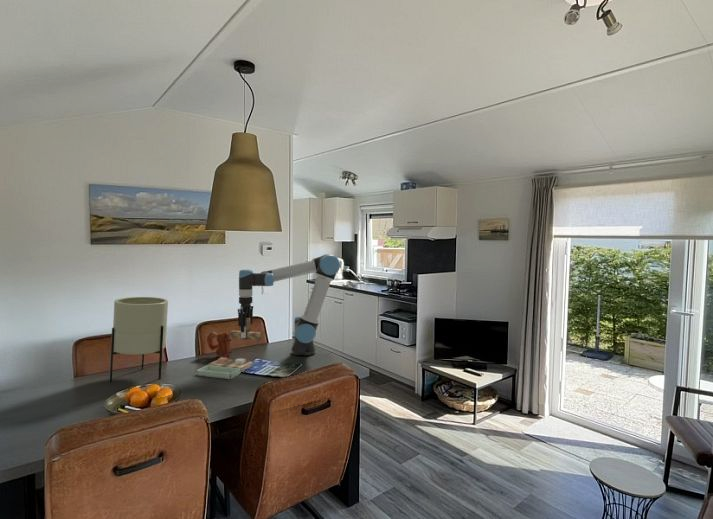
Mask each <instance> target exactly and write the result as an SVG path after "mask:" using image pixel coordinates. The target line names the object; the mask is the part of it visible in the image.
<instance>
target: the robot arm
mask: <svg viewBox="0 0 713 519" xmlns="http://www.w3.org/2000/svg"><path fill="white" fill-rule="evenodd" d="M340 268H341V263H340V260H339V258H338V257H337V256H336V255H334V254H329V253H328V254H323V255H321V256H317V257H315V258H312V259H311V260H309V261H304V262H300V263H295V264H290V265H287V266H282V267H277V268H274V269H271V270H264V271H261V272H257V273H256V272H254V271H253V270H252V269H240V270H238V271H239V272H238V296H239V297H238V304H240V308H237V316H238V318H237V319H238V320H237V321H238V324H237V325H238V326H239V327H240V331H241V338H246V326H245V321H246V318H250V326H251V325H252V324H253V322H254V320H253V318H254V317H253V316H254V315H253V312H254V306H253V305H252V303H253V297H252V296H253V287H272V286H274V283H275V282H278V281H283V280H287V279H292V278H295V277H301V276H305V275H309V274H315V275H316V279H315V282H314V285H313V288H312V291H311V293H310V296H309V298H308V301H307V304H306V307H305V310H304V313H303V315H300V316H296V317H294V322H293V323H294V333H293V336H294V338H293V339H294V340H293V344H292V347H291V350H290V353H292V354H295V355H294V356H296V355H310V356H312V355H311V354H314V353H315V352H316V350H317V349H316V346H315V343H314V339H315V338H316V334H317V329H318V327H319V321H318V318H319V315H320V312H321V310H322V307H323V304H324V301H325V300H326V296H327V292H328V291H329V288H330V285H331V282H333V281H334V280H335V279H336V276H337V273H338V272H339V271H340ZM292 354H291V355H292ZM315 354H316V353H315ZM315 354H314V355H315Z"/></svg>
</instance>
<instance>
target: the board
mask: <svg viewBox="0 0 713 519" xmlns="http://www.w3.org/2000/svg"><path fill="white" fill-rule="evenodd" d="M235 360H236V359H229V358H228V361H227V362H226V363H218V359H217V360H214V361H212V362H210V363H208V365H213V366H222V367H231V368H240V369H241V372H242V371H243V370H245V369H247V368H249V367H250V366H252V365H253V361H249V360H248V361H247V360H246V363H244V364H235ZM253 366H254V365H253ZM253 366H252V367H253Z"/></svg>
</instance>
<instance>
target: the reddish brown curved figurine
mask: <svg viewBox="0 0 713 519" xmlns="http://www.w3.org/2000/svg"><path fill="white" fill-rule="evenodd" d="M215 338H216V342H217V344H215V343H214V341H213V340H214V339H215ZM231 341H232V338H230V332H220V333H217V332H216V331H215V330H214V331H210V333H208V335H207V337H206V342H207V346H208V348H209V349H210V350H211V351H216V357H218V358H219V357H226V358H229V357H230V355H231V354H232V350H231Z"/></svg>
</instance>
